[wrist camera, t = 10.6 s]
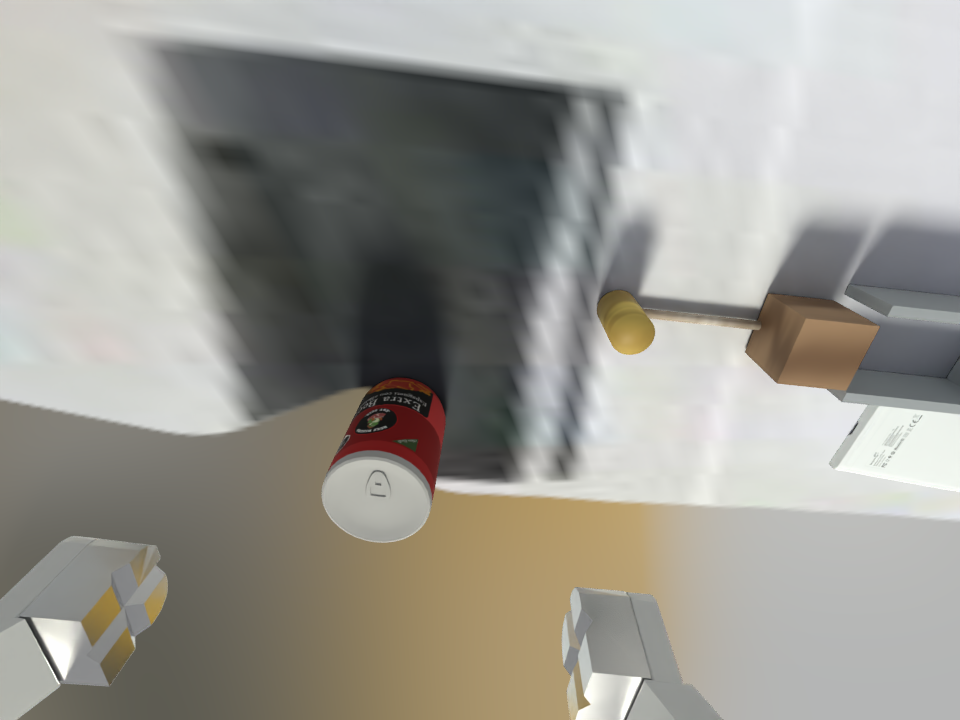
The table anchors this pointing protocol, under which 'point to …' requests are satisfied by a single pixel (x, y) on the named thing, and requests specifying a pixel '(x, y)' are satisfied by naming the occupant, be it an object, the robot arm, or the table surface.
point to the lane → (905, 389)
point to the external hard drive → (904, 447)
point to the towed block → (764, 336)
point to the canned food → (387, 463)
